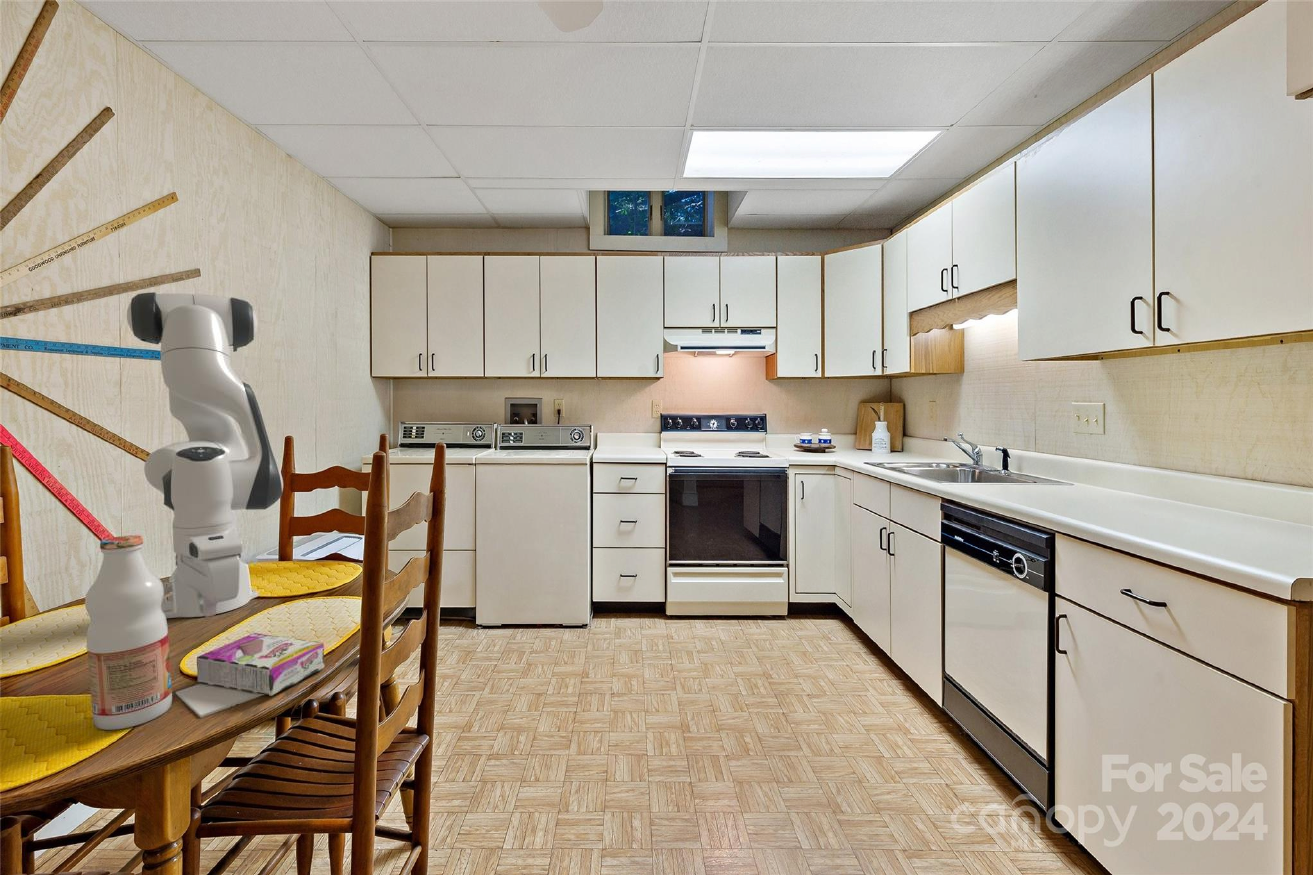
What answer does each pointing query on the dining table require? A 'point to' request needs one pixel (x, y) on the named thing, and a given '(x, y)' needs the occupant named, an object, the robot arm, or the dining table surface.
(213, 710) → the mat
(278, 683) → the candy bar box
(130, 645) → the fruit juice
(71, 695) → the dining table surface
